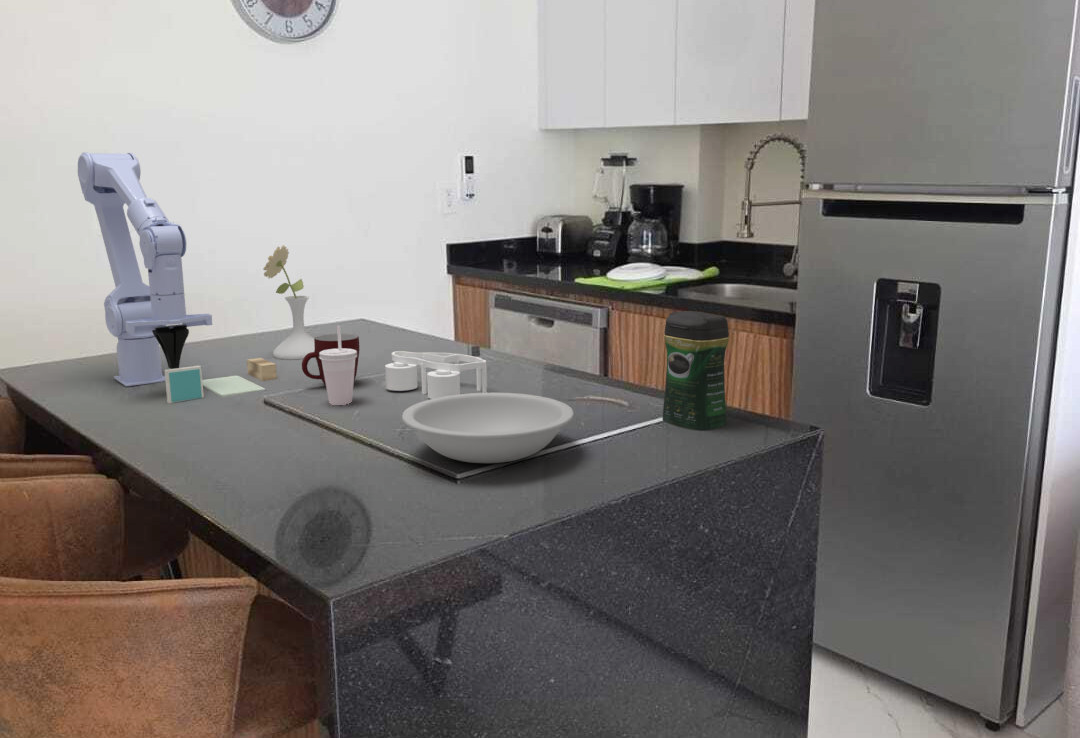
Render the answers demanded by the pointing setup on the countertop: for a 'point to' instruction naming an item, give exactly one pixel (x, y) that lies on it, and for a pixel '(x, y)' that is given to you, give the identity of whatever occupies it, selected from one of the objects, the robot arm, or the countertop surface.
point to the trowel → (261, 369)
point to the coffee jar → (695, 370)
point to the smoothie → (339, 372)
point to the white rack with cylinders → (433, 372)
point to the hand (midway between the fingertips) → (173, 368)
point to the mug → (330, 343)
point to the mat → (231, 386)
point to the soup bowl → (488, 425)
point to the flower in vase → (299, 339)
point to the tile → (184, 384)
